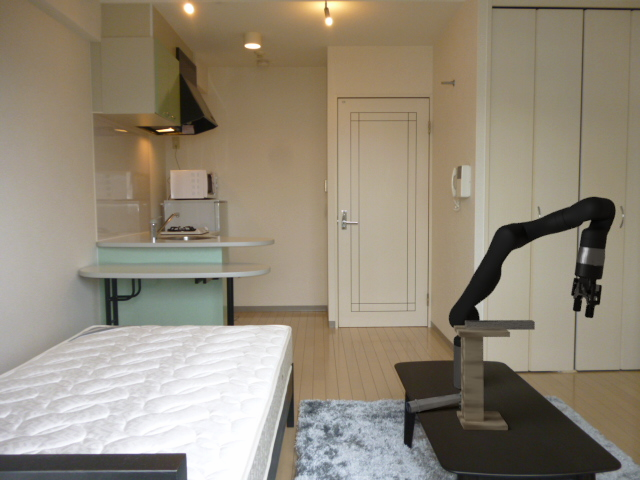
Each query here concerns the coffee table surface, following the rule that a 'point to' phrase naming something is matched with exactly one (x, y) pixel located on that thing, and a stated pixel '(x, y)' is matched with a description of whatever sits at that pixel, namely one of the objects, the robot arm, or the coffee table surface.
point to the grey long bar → (499, 325)
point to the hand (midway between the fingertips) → (582, 314)
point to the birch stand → (476, 381)
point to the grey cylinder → (433, 403)
